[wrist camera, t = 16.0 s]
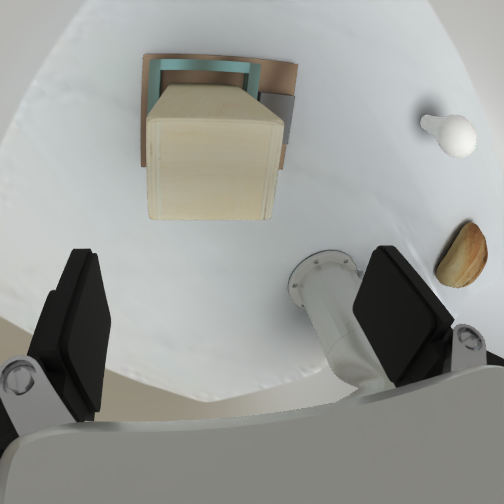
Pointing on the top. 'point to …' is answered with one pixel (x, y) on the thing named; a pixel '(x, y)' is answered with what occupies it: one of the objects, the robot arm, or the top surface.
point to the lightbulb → (451, 134)
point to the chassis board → (221, 72)
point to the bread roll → (464, 258)
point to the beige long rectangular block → (211, 154)
